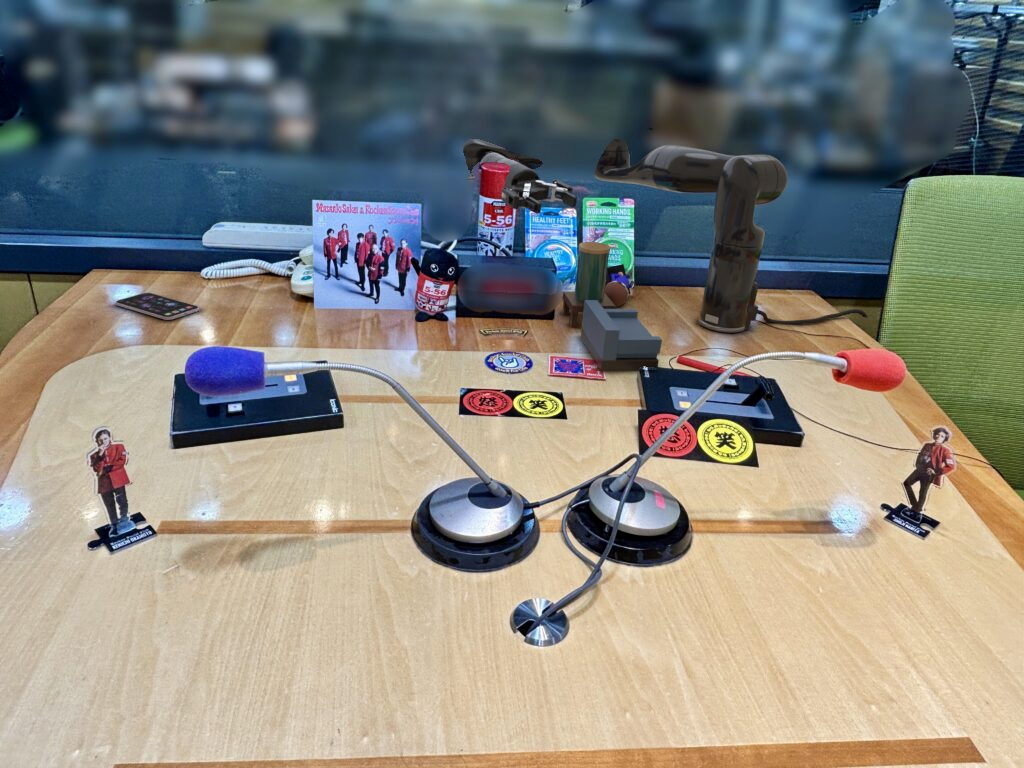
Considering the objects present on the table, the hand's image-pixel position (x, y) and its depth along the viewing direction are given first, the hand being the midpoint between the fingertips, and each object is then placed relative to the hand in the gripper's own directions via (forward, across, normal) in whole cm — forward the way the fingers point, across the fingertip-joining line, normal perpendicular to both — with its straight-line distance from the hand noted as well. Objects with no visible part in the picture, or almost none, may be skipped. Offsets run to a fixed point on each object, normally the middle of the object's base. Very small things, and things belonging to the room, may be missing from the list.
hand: (557, 205), depth 141 cm
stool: (+12, 0, +20) cm, 23 cm away
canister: (+12, +1, +15) cm, 19 cm away
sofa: (+28, -5, +17) cm, 33 cm away
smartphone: (-27, -72, +18) cm, 79 cm away
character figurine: (+7, +12, +22) cm, 26 cm away
